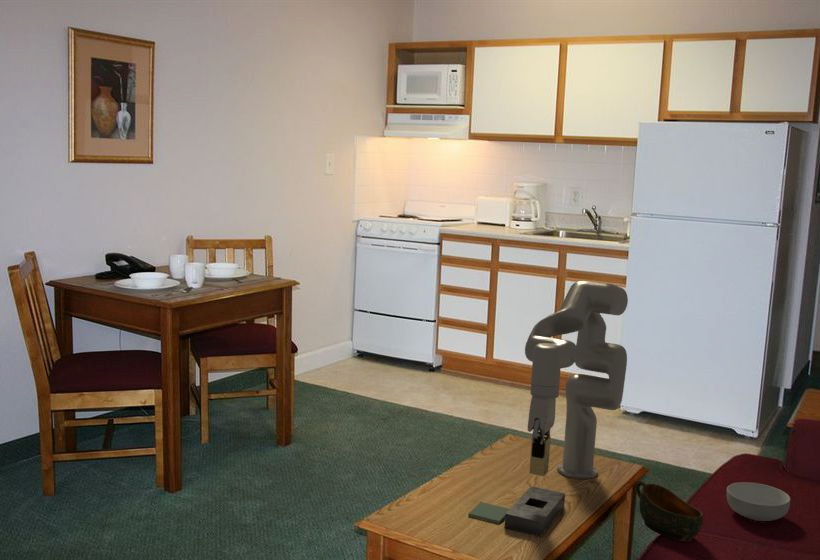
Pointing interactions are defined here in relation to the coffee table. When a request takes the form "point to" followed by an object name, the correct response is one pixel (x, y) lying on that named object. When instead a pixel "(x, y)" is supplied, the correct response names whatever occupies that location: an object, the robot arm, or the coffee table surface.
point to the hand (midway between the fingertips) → (540, 453)
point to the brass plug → (538, 464)
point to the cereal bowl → (758, 501)
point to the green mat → (488, 512)
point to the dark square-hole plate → (535, 511)
